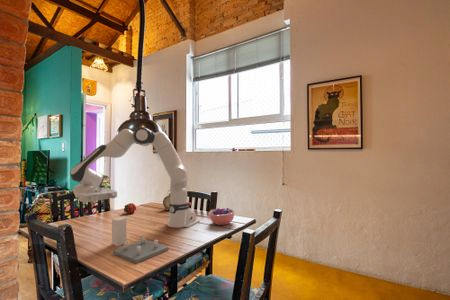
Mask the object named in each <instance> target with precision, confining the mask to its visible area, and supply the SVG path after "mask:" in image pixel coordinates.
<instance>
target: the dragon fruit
mask: <svg viewBox="0 0 450 300" xmlns="http://www.w3.org/2000/svg"><path fill="white" fill-rule="evenodd" d="M136 210H137V206H136V204H134V203H127V204H126V205H124V208H123V212H124V213H126V214H128V215H130V214H134V213H135V211H136Z"/></svg>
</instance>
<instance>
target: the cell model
mask: <svg viewBox="0 0 450 300" xmlns="http://www.w3.org/2000/svg"><path fill="white" fill-rule="evenodd" d="M208 217H209V218H208V219H210V220H211V222H212V223H213V224H215V225H217V226H225V225H228V224H230V223H231V222H232V221H233V220H234V218H235V210H233V209H231V208H229V207H226V208H222V207H217V208H214V209H213V208H212V209H210V210H209V212H208Z"/></svg>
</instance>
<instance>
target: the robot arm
mask: <svg viewBox="0 0 450 300" xmlns="http://www.w3.org/2000/svg"><path fill="white" fill-rule="evenodd" d="M134 144H136V145H139V146H142V147H147V146H149V145H152V146H153V148H154V149H155V151H156V153H157V155H158V157H159V158H160V160H161V162H162V164H163V166H164V168H165V171H166V173H167V175H168V176H169V179H170V189H169V190H170V191H169V192H170V193H169V194H170V204H169V209H168V210H169V213H168V214H169V215H168V220H167V225H166V226H167V227H169V228H189V227H192V226H194V225H196V224H197V223H199V222H200V221H201V220H200V219H199V218H197V214H196V212H195V211H194V210H193V209H191V208H190V206H191V207H192V202H188V169H187V167H185V165H184V164H183V161H182V160H181V158H180V156H179V154H178V152H177V150H176V149H175V147H174V145H173V143H172V141H171V140H170V138H169V136H168V135H167V134H166V133H165V132H164V131H156V132H154V131H153V130H150V128H147V127H143V126H140V127H138V128H136V129H135V130H134V131H133V130H131V129H128V128H123V129H122V130H120V131H119V132H118V133H117V134H115V136H114V137H113V138H112V140H111V141H109V142H108V143H106V144H101V145H100V146H98V147H97V148H95V149H94V150H93V151H92V152H91V153H90V154H88V155H87V156H86V157H85V158H84V159H83V160H82V161H80V162H79V163H77V164H76V165H74V167H72V169H71V170H70V173H69V174H70V178H71V180H72V181H74V182H77V183H79V184H76V185H75V186H74V187H73V189H72V191H73V194H74V196H75V199H78V201H79V202H81V203H87V202H89V203H96V202H98V201H102V200H107V199H109V200H110V199H115V198H117V197H118V191H117V190H115V189H110V188H109V187H103V183H104V175H103V174H102V173H100V172H98V171H96V170H95V169H92V168H90V167H91V166H93V164H94V163H95V162H97V160H99V159H100V158H105V157H106V158H113V159H115V158H121V157H123V156H124V155H125V154H126V153H127V152H128V150H129V149H130V148H131V146H132V145H134Z"/></svg>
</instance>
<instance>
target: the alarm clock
mask: <svg viewBox="0 0 450 300" xmlns="http://www.w3.org/2000/svg"><path fill="white" fill-rule="evenodd" d="M168 192H170V189H169V190H168ZM169 204H170V193H168V195H166V196H165V197H164V198H163V201H162V205H163V207H164V211H166V210H170V209H169Z"/></svg>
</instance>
